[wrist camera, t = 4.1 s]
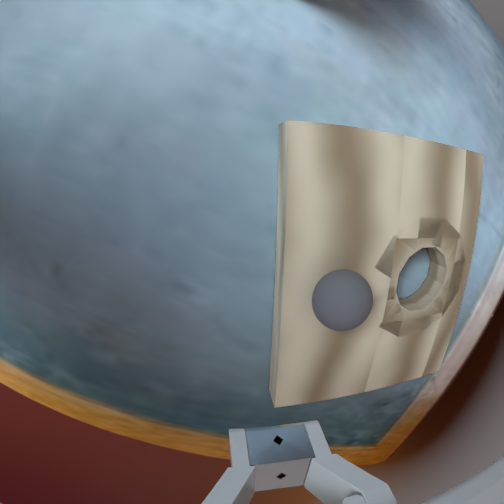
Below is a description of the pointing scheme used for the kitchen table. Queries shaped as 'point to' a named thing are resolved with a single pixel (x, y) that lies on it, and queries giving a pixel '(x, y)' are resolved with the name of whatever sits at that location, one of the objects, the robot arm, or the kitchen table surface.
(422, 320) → the board
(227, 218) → the kitchen table surface
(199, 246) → the kitchen table surface
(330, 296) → the ball
